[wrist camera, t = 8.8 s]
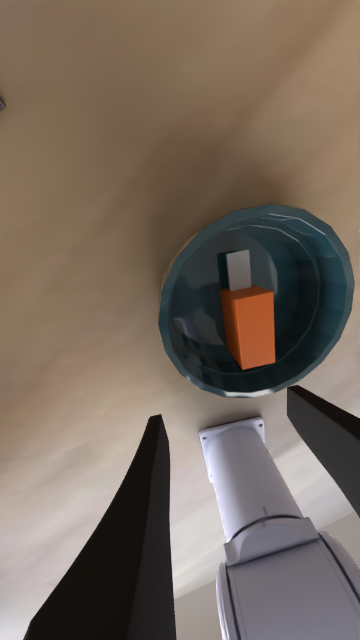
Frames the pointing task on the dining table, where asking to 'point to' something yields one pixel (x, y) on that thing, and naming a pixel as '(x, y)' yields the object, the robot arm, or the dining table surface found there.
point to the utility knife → (247, 315)
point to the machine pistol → (1, 104)
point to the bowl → (266, 272)
